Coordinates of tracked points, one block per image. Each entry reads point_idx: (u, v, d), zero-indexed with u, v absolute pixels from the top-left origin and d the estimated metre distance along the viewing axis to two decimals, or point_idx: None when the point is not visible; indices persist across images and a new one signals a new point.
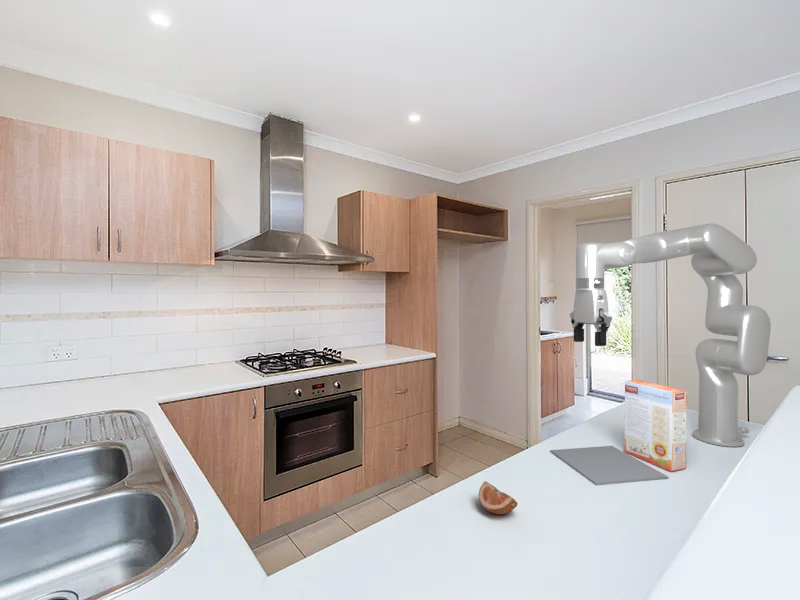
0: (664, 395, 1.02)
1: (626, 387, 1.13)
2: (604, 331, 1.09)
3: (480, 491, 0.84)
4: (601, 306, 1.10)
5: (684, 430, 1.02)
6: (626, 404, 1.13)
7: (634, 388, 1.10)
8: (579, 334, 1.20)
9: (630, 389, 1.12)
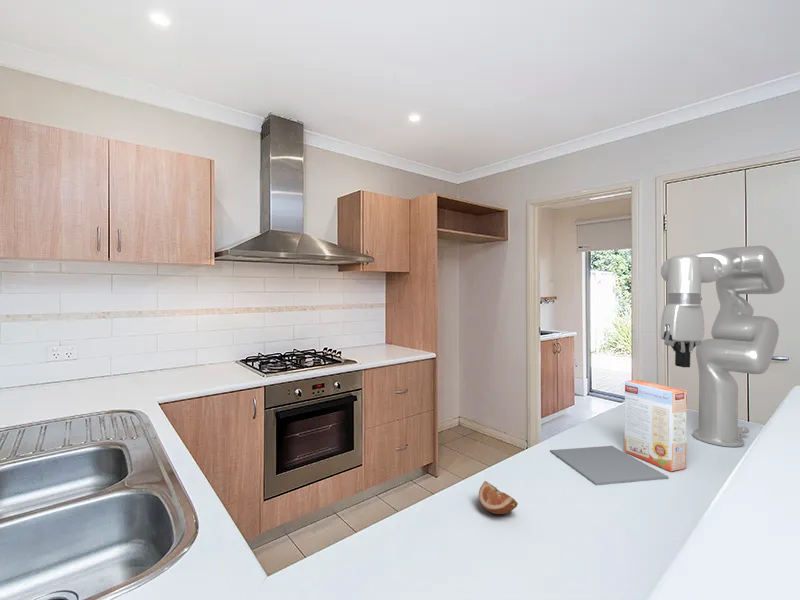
0: (664, 395, 1.02)
1: (626, 387, 1.13)
2: None
3: (480, 491, 0.84)
4: None
5: (684, 430, 1.02)
6: (626, 404, 1.13)
7: (634, 388, 1.10)
8: None
9: (630, 389, 1.12)
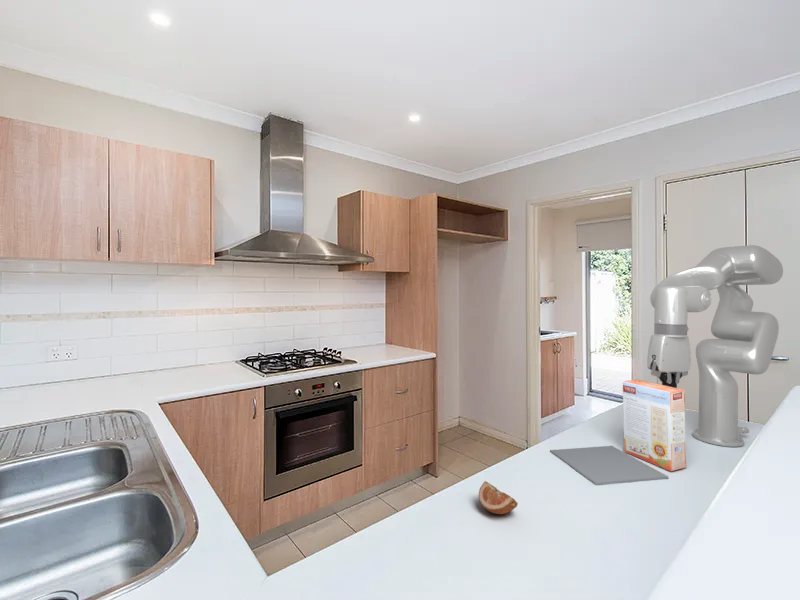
0: (662, 395, 1.02)
1: (624, 387, 1.13)
2: None
3: (480, 491, 0.84)
4: None
5: (683, 429, 1.02)
6: (624, 404, 1.13)
7: (632, 388, 1.10)
8: None
9: (628, 389, 1.11)
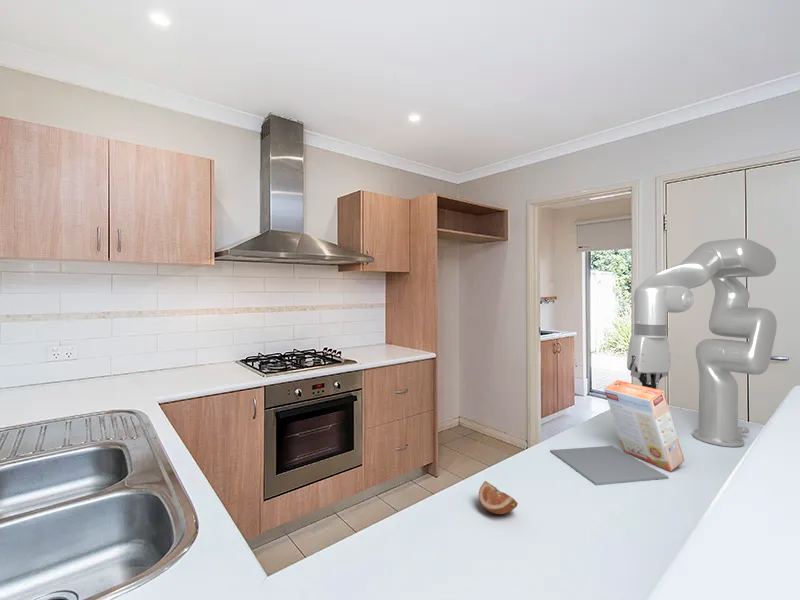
0: (643, 403, 1.00)
1: (606, 394, 1.10)
2: None
3: (480, 491, 0.84)
4: None
5: (672, 428, 1.01)
6: (612, 409, 1.11)
7: (614, 395, 1.08)
8: None
9: (611, 396, 1.09)
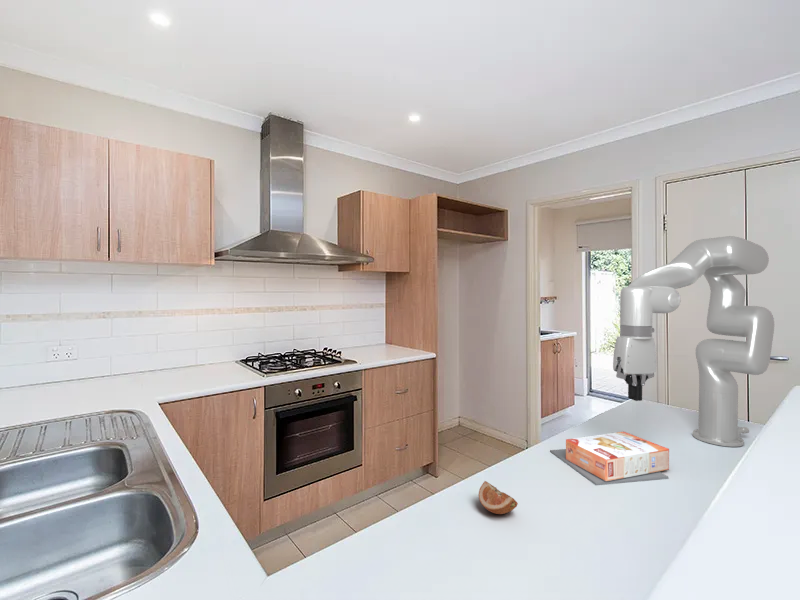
0: None
1: None
2: None
3: (480, 491, 0.84)
4: None
5: (639, 456, 0.97)
6: None
7: None
8: None
9: None
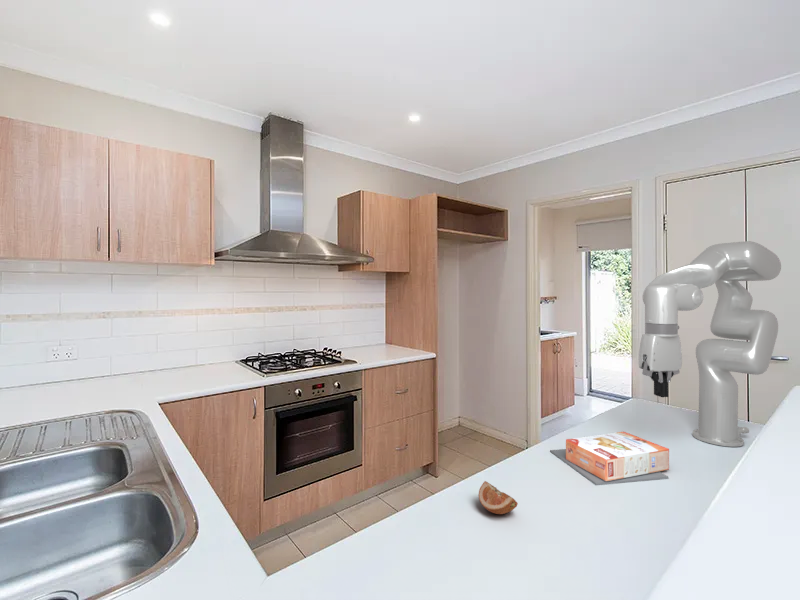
0: None
1: None
2: None
3: (480, 491, 0.84)
4: None
5: (639, 456, 0.97)
6: None
7: None
8: None
9: None
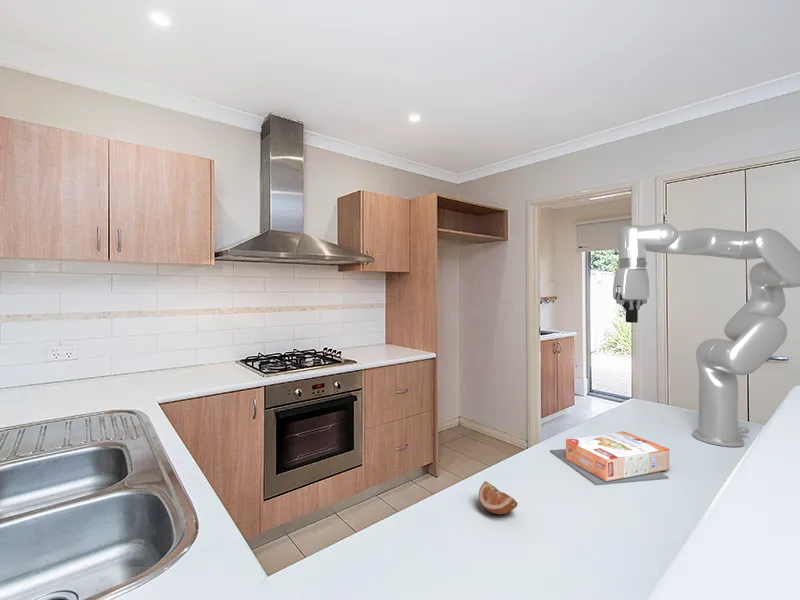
0: None
1: None
2: None
3: (480, 491, 0.84)
4: None
5: (639, 456, 0.97)
6: None
7: None
8: None
9: None
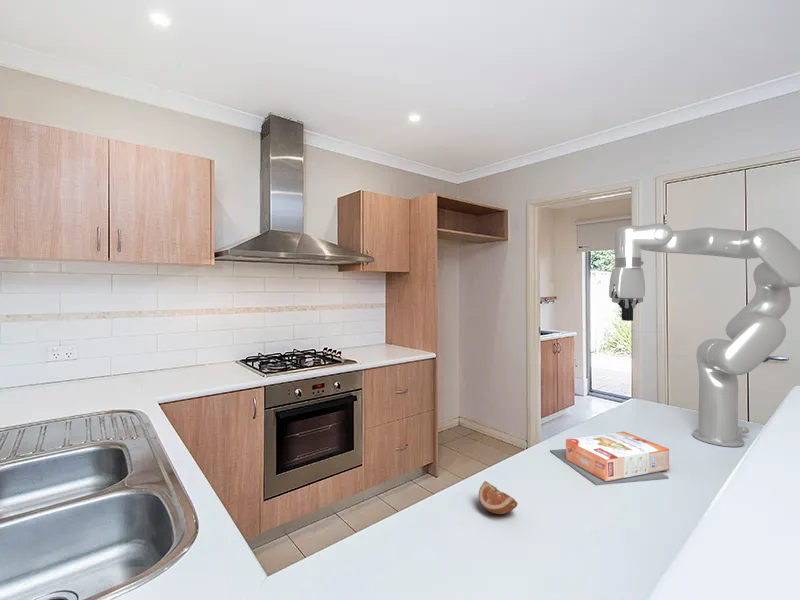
0: None
1: None
2: None
3: (480, 491, 0.84)
4: None
5: (639, 456, 0.97)
6: None
7: None
8: None
9: None
